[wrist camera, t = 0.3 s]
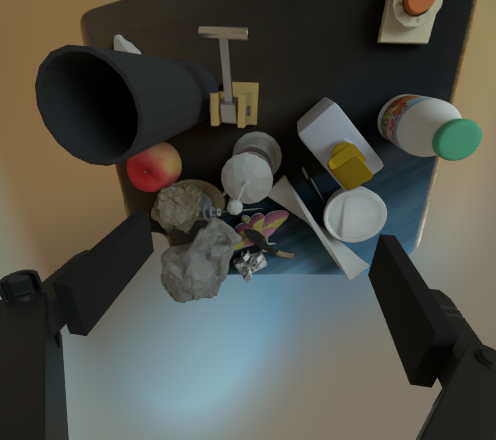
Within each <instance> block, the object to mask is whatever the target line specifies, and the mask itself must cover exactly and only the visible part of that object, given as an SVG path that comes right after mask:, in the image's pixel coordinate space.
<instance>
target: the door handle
mask: <svg viewBox="0 0 496 440" xmlns="http://www.w3.org/2000/svg"><path fill="white" fill-rule="evenodd" d="M267 196H268V197H270V198H271V199H273V200H274V201H276V202H277V203H279V204H280V205H282V206H283V207H285V208H286V209H288V210H289V211H291V212H292V213H294V214H295V215H297V216H298V217H299V218H301V219H302V220H304V221H305V222H307V223H308V224H309V225H310V226H311V227H312V228H313V230H314V231H315V232H316V234H317V235H318V237H319V239H320V240H321V242H322V243H323V245H324V246H325V248H326V249H327V251H328V252H329V254H330V255H331V257H332V258H333V259H334V261H335V262H336V264H337V265H338V266H339V268H340V269H341V270H342V272H343V273H344V274H345V276H346V277H347V278H348V280H349V281H351V280H352V279H353V278H355V277H356V276H358V275H359V274H360V273H362V272H363V271H364V270H366V269H367V268H368V267H369V265H368V264H367V263H366V262H364V261H363V260H362V259H361V258H359V257H358V256H357V255H356V254H355V253H354V252H352V251H351V250H350V249H349V248H348V247H346V246H345V245H344V244H343V243H342V242H340V241H339V240H338V239H337V238H335V237H334V236H332V235H331V234H330V233H329V232H328V231H326V230H325V229H324V228H322V227H321V226H320V225H318V224H317V223H316V222H315V221H314V219H313V217H312V216H311V214H310V213H309V211H308V210H307V208H306V207H305V205H304V204H303V202H302V200H301V199H300V197H299V196H298V194H297V193H296V191H295V190H294V188H293V187H292V185H291V184H290V182H289V181H288V179H287V178H286V176H285V175H284V176H283V177H282V178H281V179H280V180H278V181H277V182H276V183H275V184H274V185H273V186H272V189H271V191H270V192H269V194H268V195H267Z"/></svg>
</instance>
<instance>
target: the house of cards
mask: <svg viewBox="0 0 496 440" xmlns="http://www.w3.org/2000/svg"><path fill="white" fill-rule="evenodd" d="M262 250H263V249H262ZM263 252H267V251H265V250H263ZM241 256H242V258H241V257H240V258H236V259H234V262H233V263H234V265H235V267H236V268H237V269H238V271H239V273H240V274H241V275H242V276H243V278H244V279H245V281H246V282H248V281H249V280H250V279H251V273H253V272H256V271H257V270H259V269H262V268H263V267H264V266H267V261H266V259H265V256H263V254H262V252H261V251H260V252H256V253H253V254H250V252H249V250H247V253H246V254H244V253H243V251H242V254H241Z"/></svg>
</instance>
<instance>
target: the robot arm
mask: <svg viewBox="0 0 496 440" xmlns="http://www.w3.org/2000/svg"><path fill="white" fill-rule="evenodd" d="M153 251H154V249H153V242H152V234H151V227H150V220H149V212H146V211H135V212H134V213H133V214H131V215H130V216H129V217H128V218H127V219H126V220H125V221H123V222H122V223H121V224H120V225H119V226H117V227H116V228H115V229H114V230H113V231H112V232H111V233H109V234H108V235H107V236H106V237H105V238H104V239H102V240H101V241H100V242H99V243H98V244H97V245H95V246H94V247H93V248H92V249H91V250H85V251H83V252H81V253H79V254H77V255H75V256H74V257H72V258H71V259H70V260H69V261H68V262H67V263H65V264H64V265H63V266H62V267H61V268H60V269H58V270H57V271H55V272H54V273H53V274H52V275H51V276H49V277H48V278H47V279H46V280H45V281H43V282H41V280H40V277H39V275H38V272H37V271H35V270H21V271H17V272H14V273H11V274H9V275H7V276H5V277H3V278H2V279H1V280H0V296H1V298H2V300H0V440H69V437H68V423H67V407H66V391H65V378H64V377H65V376H64V361H63V345H62V335H61V333H60V330H61V329H62V328H63V327H64V325H65V324H67V327H68V330H69V332H70V333H71V334H77V335H83V336H87V335H88V333H89V332H90V331H91V330H92V328H93V327H94V326H95V325H96V323H97V322H98V321H99V319H100V318H101V317H102V316H103V315H104V313H105V312H106V311H107V309H108V308H109V307H110V306H111V304H112V303H113V302H114V301H115V299H116V298H117V297H118V296H119V294H120V293H121V292H122V291H123V289H124V288H125V287H126V285H127V284H128V283H129V282H130V280H131V279H132V278H133V277H134V275H135V274H136V273H137V271H138V270H139V269H140V268H141V267H142V265H143V264H144V263H145V261H146V260H147V259H148V257H149V256H150V255H151V254H152V253H153ZM368 276H369V278H370V281H371V284H372V286H373V289H374V291H375V294H376V297H377V299H378V302H379V304H380V307H381V310H382V312H383V315H384V317H385V320H386V323H387V325H388V328H389V330H390V333H391V335H392V338H393V341H394V343H395V346H396V349H397V351H398V354H399V357H400V359H401V362H402V364H403V367H404V369H405V372H406V375H407V377H408V380H409V382H410V384H411V385H417V386H425V387H432V386H433V384H434V382H435V380H436V379H437V378H438V380H439V381H440V383H441V386H442V390H441V392H440V394H439V395H438V397H437V399H436V400H435V402H434V404H433V407H432V409H431V411H430V413H429V415H428V417H427V419H426V421H425V423H424V425H423V427H422V429H421V431H420V433H419V434H418V436H417V438H416V440H496V350H494V349H492V348H490V347H488V346H485V345H483V344H482V342H481V341H480V340H479V338H478V337H477V335H476V334H475V333H474V331H473V330H472V328H471V327H470V326H469V324H468V323H467V321H466V320H465V319H464V318H463V317H462V314H461V313H460V311H459V310H457V308H456V306H455V304H454V303H453V302H452V300H451V299H450V298H449V297H448V296H446V295H445V294H444V293H443V292H441V291H440V290H435V289H429V288H428V286H427V285H426V283H425V282H424V280H423V279H422V277H421V275H420V274H419V272H418V271H417V269H416V268H415V266H414V265H413V263H412V261H411V260H410V258H409V257H408V255H407V254H406V252H405V251H404V249H403V247H402V246H401V244H400V243H399V241H398V240H397V238H396V237H395V236H393V235H383V234H380V236H379V240H378V243H377V247H376V250H375V253H374V257H373V260H372V264H371V267H370V271H369V274H368Z"/></svg>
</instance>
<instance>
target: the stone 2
mask: <svg viewBox="0 0 496 440" xmlns="http://www.w3.org/2000/svg"><path fill="white" fill-rule="evenodd" d="M241 240H242V237H241V236H240V235H239V234H237V233H236V232H235V230H234V229H233V228H232V227H231V226H230V225H228V224H226V223H225V222H224V221H223V220H220V219H219V218H217V217H215V216H212V217H211V219H210V220H209V222H208V224H207V226H206V227H204V228H201V229H200V230H199V231H198V233H197V235H196V237H195V239H194V240H193V242H191V243H187V244H184V245H177V246H171V247H170V248H169V249H168V250H166V251H165V252H164V253H163V254H162V255H161V262H162V264H163V269H162V275H161V282H162V284H163V286H164V288H165V290H166V291H167V292H168V293H169V295H170V296H171V297H172V298H173V299H174V300H175V301H177V302H181V303H185V302H186V301H190V300H199V299H200V298H212V297H213V296H216V295H217V293H218V291H219V288H220V286H221V283H222V282H223V281H224V280H225V278H226V275H227V273H228V270H229V261H230V259H231V257H232V255H233V250H234V247H235V246H236V245H237V244H239V243H240V242H241Z"/></svg>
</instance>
